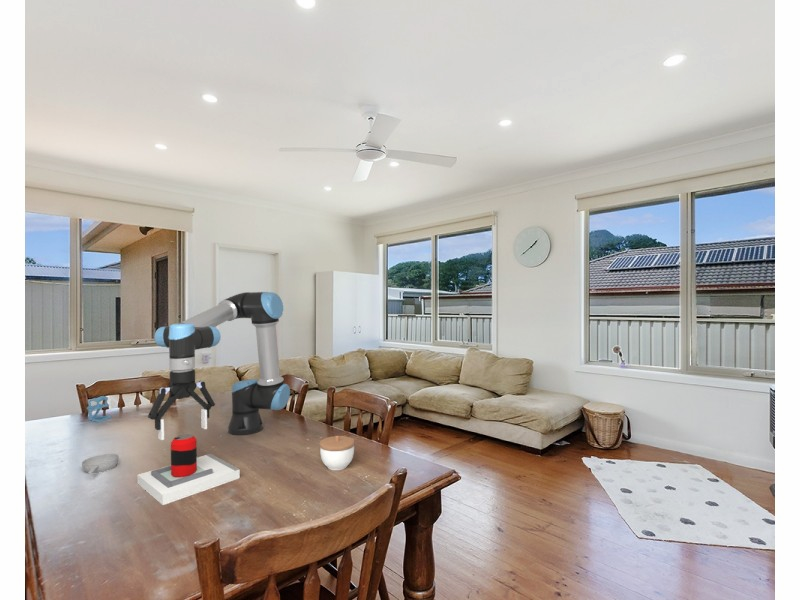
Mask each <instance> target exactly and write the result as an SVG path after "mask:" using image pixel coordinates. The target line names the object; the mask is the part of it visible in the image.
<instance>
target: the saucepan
mask: <svg viewBox="0 0 800 600" xmlns="http://www.w3.org/2000/svg"><path fill="white" fill-rule="evenodd" d="M119 457H120V456H119V454H117V453H106V454H98V455H95V456H90V457H89V458H87V459H84V460H83V461H82V462H81V467H82V470H83V471H84V472H85V473H86V474H89V473H96V474H100V473H99V472H102V473H105V472H104V471H106V472H108V471H107V470H109V471H110V469H111V470H113V469H115V467H116V466H117V465H118V462H119ZM112 468H113V469H112Z"/></svg>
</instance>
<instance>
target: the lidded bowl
mask: <svg viewBox="0 0 800 600" xmlns="http://www.w3.org/2000/svg"><path fill="white" fill-rule="evenodd" d="M319 453H320V458H321V461H322V463H323V464H324V465H325V466H326V467H327V469H328V470H330V471H342V470H346V468H347V467H348V465H350V464H351V462H352V460H353V459H354V454H355V439H354V438H353V437H350V436H346V435H334V436H329V437H325V438H323V439H321V440H320V442H319Z"/></svg>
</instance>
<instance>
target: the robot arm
mask: <svg viewBox="0 0 800 600" xmlns="http://www.w3.org/2000/svg"><path fill="white" fill-rule="evenodd" d="M283 312H284V303H283V300H282V299H281V297H280V295H278V294H277V293H276V292H272V291H271V292H269V291H253V292H250V291H248V292H241V293H238V294H234V295H232V296H229V297H228V298H227V297H226V298H225V299H222V300H221V301H220V302H218V304H217V305H216V306H213V307H211V308H209V309H207V310H205V311H202V312H200V313H198V314H196V315H194V316H191V317H190V318H187V319H186V320H183V321H180V322H178V323H173V324H172V323H171V325H169V326H168V325H167V326H161V327H158V329H157V330H156V331H155V333H154V341H155V343H156V345H157V346H159V347H161V348H166V349H169V350H168V351H169V359H168V361H169V364H168V365H169V371H170V372H169V386H168V387H162V386H161V387H160V386H159V388H158V395H157V396H156V399H155V401H154V403H153V405H152V407H151V409H150V410H149V413H148V415H147V417H148V419H150V420H154V429H155V430H156V431H157V432H158V439H159V440H160V441H164V440H165V419H164V418H163V416H164V415H165V414H166V413H167V411H168V410H169V409H170V407H171V406H172V405H173V404H174V403H175V402H176V401H177V400H182V399H184V398H186V399H187V398H188V399H189V398H190V397H192V398H193V399H194V400H195V402H196V403H198V404H199V405H200V406H201V407H202V408H201V409H200V417H201V419H200V421H201V422H200V424H201V426H200V427H201V429H203V430H207V429H208V419H209V418H210V410H211V409H212V407H215V405H216V403H215V402H214V399H213V398H212V396H211V395H210V393H209V391H208V389H207V388H206V382H205V381H203V380H199V381H198V382H196V370H195V368H196V354H195V353H196V350H202V349H208V348H209V349H210V348H212V347H215V346H218V344H219V343H220V341H221V332H220V329H218V328H217V327H218V326H220V325H221V324H224V323H225V322H232V321H234V320H236V319H251V324H252V326H254V328H255V334H256V345H257V354H258V355H257V357H258V366H259V374H260V375H259V376H260V377H259V379H258V378H251V379H244V380H239V381H236V382H235V383H233V384H232V387H231V388H232V390H231V404H232V406H231V409H232V411H231V412H232V414H231V417H230V421H229V423H228V428H227V429H228V434H230V435H235V436H245V435H251V434H256V433H258V432H261V431H262V430H263V429H264V423H263V420H262V417H261V414H260V410H270V411H279V410H280V411H281V410H282V409H284V408H285V407H286V406H287V404H288V401H289V400H290V397H291V396H290V395H291V388H290V386H289V384H287V383H285V379H284V377H283V376H281V374H280V373H281V372H280V361H279V348H278V338H277V337H278V336H277V335H278V334H277V324H278V323H279V321H280V320H279V319H280V318H281V317H282V316H283ZM197 388H198V389H199V390H200V392H201V394H202V395H203V397H204V399H205V400H206V402H205V400H203V398H201V397H200V396H199V394H198V393H197V392H196V391H195V390H196V389H197ZM168 392H169V393H170V395H169V396H168V397H167V399H166V401H164V399H165V397H166V395H167V394H168ZM163 402H164V403H163Z"/></svg>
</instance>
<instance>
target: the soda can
mask: <svg viewBox="0 0 800 600" xmlns="http://www.w3.org/2000/svg"><path fill="white" fill-rule="evenodd" d="M197 441H198V440H197V438H196V436H194V435H193V434H191V433H185V434H179V435H177V436H175V437H174V438H173V439H172V440H171V442H170V465H171V475H172V476H173V477H186V476H189V475H192V474H194V473H195V472H196V470H197V457H198V456H197V455H198V454H197V453H198V452H197Z"/></svg>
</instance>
